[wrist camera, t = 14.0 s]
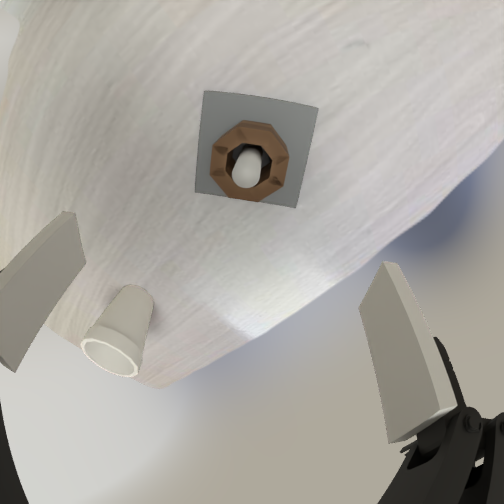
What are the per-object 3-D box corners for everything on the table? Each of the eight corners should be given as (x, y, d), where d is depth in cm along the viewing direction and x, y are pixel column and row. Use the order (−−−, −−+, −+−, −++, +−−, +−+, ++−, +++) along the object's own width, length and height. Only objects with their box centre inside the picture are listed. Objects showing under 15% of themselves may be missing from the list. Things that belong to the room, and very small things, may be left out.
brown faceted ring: (216, 177, 29) (207, 194, 25) (224, 117, 26) (214, 123, 21) (278, 186, 30) (279, 205, 25) (290, 127, 26) (293, 135, 22)
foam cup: (104, 289, 43) (71, 344, 32) (134, 269, 40) (98, 332, 29) (140, 322, 47) (117, 379, 37) (173, 308, 44) (150, 373, 33)
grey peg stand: (196, 189, 32) (171, 229, 24) (206, 90, 25) (177, 93, 17) (295, 205, 32) (302, 249, 25) (317, 107, 26) (337, 117, 18)
